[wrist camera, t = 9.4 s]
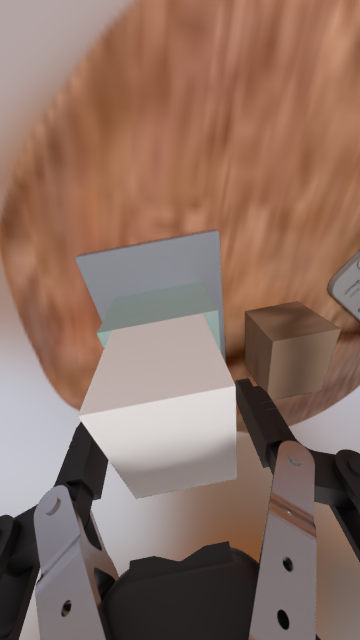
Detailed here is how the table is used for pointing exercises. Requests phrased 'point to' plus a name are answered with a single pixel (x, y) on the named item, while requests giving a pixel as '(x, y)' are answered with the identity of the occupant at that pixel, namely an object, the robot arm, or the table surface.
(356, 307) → the handheld gaming console
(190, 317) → the cream brick
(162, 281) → the baseplate
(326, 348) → the walnut brick
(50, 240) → the table surface
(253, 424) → the robot arm
